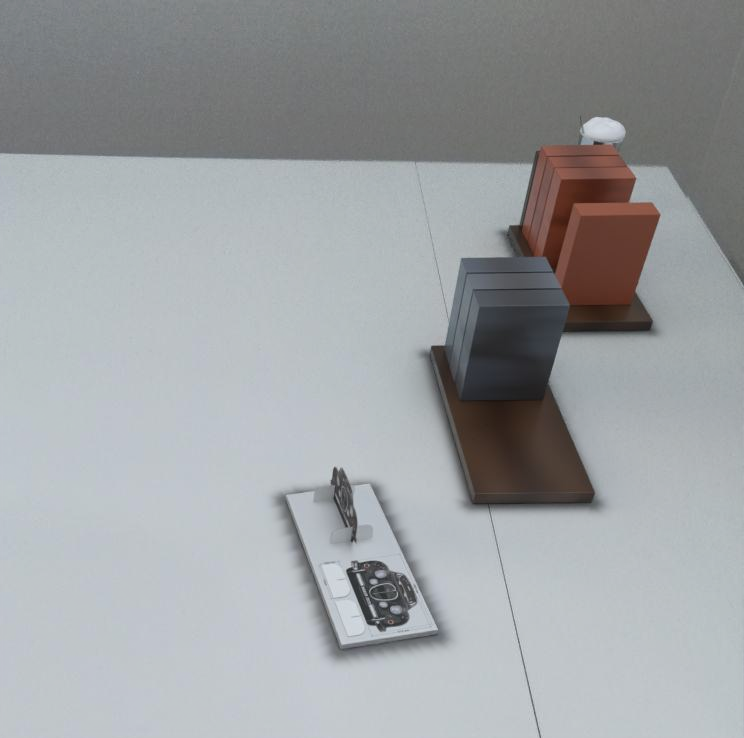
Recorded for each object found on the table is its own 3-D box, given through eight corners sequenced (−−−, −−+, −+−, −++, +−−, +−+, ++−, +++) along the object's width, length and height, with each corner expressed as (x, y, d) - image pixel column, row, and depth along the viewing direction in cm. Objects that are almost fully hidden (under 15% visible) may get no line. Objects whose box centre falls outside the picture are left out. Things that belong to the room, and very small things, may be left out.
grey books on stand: (529, 353, 88) (555, 251, 81) (592, 502, 74) (630, 394, 67) (429, 354, 88) (447, 252, 81) (472, 503, 74) (498, 396, 67)
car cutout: (285, 499, 75) (288, 453, 72) (369, 487, 75) (375, 442, 72) (340, 649, 64) (346, 603, 61) (437, 634, 65) (448, 588, 62)
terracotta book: (623, 291, 94) (652, 201, 87) (631, 304, 92) (661, 214, 86) (550, 292, 94) (573, 203, 87) (556, 305, 92) (580, 215, 86)
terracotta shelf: (591, 232, 104) (618, 138, 97) (650, 330, 91) (685, 229, 84) (507, 233, 104) (527, 140, 97) (552, 331, 91) (580, 230, 84)
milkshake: (548, 197, 110) (570, 107, 103) (592, 193, 111) (617, 102, 104) (566, 216, 107) (590, 123, 100) (612, 211, 107) (639, 119, 100)
